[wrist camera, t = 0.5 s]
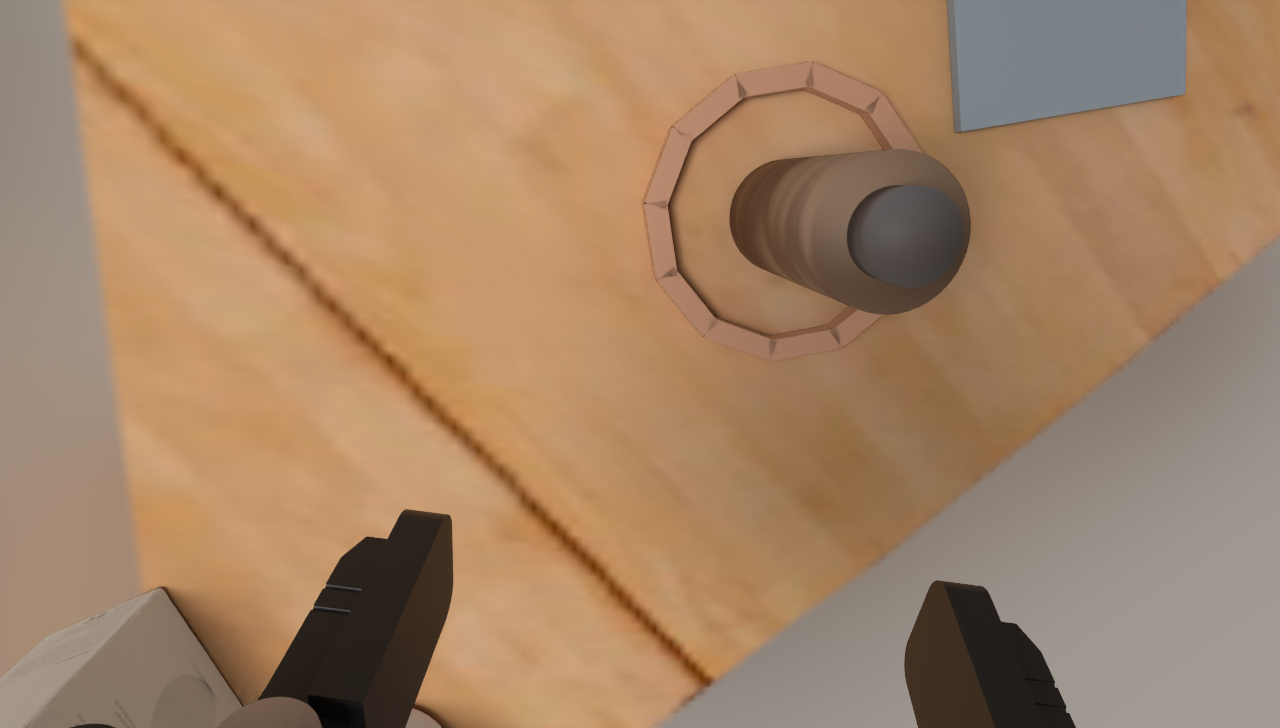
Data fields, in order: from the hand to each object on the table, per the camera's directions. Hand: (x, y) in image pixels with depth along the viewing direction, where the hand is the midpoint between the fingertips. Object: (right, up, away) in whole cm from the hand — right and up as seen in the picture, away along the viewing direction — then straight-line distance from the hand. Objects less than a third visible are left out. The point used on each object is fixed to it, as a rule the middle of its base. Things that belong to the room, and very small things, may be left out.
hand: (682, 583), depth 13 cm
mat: (+18, +21, +22) cm, 36 cm away
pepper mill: (+6, +11, +23) cm, 26 cm away
